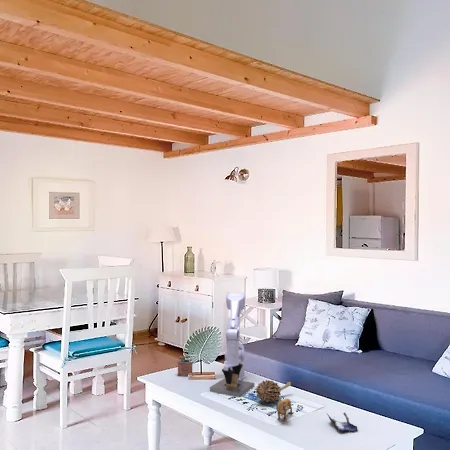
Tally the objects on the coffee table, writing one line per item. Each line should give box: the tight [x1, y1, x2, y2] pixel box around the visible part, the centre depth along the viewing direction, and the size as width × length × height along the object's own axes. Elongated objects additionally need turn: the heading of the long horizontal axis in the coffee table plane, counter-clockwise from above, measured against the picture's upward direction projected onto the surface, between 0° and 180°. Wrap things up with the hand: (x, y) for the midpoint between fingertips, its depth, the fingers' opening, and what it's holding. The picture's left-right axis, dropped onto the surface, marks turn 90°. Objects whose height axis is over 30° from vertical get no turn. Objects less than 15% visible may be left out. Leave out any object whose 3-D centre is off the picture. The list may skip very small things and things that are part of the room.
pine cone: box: [254, 379, 292, 403], centre depth 222 cm, size 22×10×10 cm, turn 136°
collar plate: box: [209, 377, 255, 398], centre depth 236 cm, size 16×16×2 cm
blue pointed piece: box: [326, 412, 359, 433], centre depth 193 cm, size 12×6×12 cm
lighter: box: [177, 356, 194, 378], centre depth 255 cm, size 8×3×10 cm, turn 84°
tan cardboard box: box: [226, 374, 238, 388], centre depth 236 cm, size 3×5×7 cm, turn 63°
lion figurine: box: [276, 398, 293, 422], centre depth 202 cm, size 15×5×9 cm, turn 164°
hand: (232, 381), depth 236 cm, fingers open, 7 cm apart
